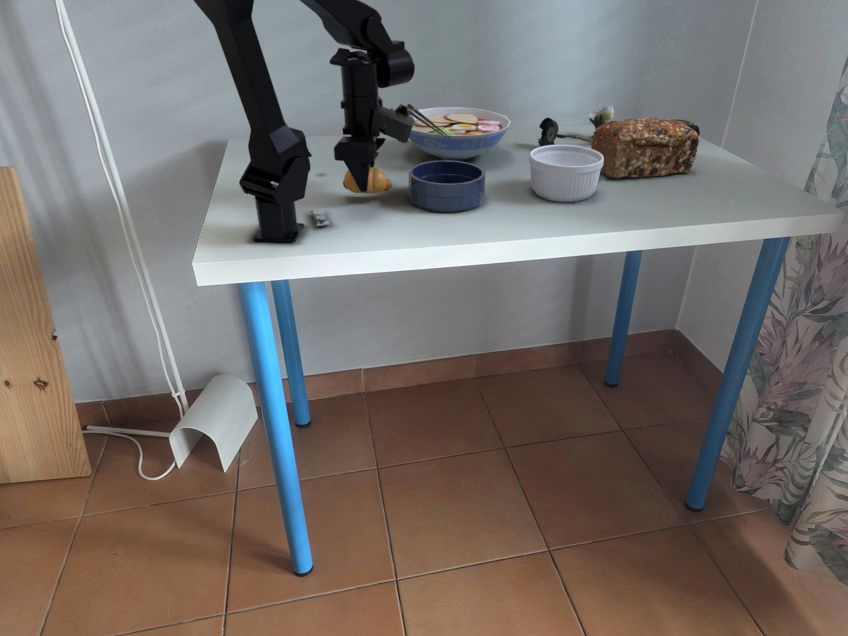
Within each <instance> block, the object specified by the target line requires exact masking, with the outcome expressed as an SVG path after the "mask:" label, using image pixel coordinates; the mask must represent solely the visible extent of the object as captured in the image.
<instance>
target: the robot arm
mask: <svg viewBox="0 0 848 636" xmlns="http://www.w3.org/2000/svg"><path fill="white" fill-rule="evenodd" d="M299 1H300V2H301V3H302V4H303V5H305V7H307V8H309V10H311V11H312V12H313V13H315V15H316V16H318V17H319V19H320V20H321V22H322V26H323V29H324V30H325V31H326V32H327V33H328V35H330V37H331V38H332V39H333V40H334V42H336V43H337V44H339V45H342V46H347V47H349V48H351V49H353V51H351V50H350V49H348V48H344V47H338V48H337V51H336V53H335V54H334V55H332V56H331V58H330V59H329V64H330V65H331V66H337V67H340V75H341V89H342V90H341V91H342V100H341V101H340V109H341V110H342V109H343V118H344V126H343V127H342V135H343V136H342V137H341V138H340V139H339V140H338V141H337V142H336V144H335V145H334V147H333V158H334V160H335V161H337V162H343V163H344V164H345V166H346V168H347V170H349V171H350V173H351V175H352V177H353V178H354V180H355V182H356V184H357V186H358V188H359V190H360V191H361V192H366V191H367V188H368V180H369V171H370V167H373V168H375V163H376V160H377V158H378V156H379V154H380V153H379V151H378V150H379V149H380V148H381V147H382V146H383V145H384V144H385V142H386V138H385V137H380V136H381V134H382V135H383V136H387V137H390V138H392V139H395V140H396V141H398V142H399V143H402V144H407V143H408V141H409V140H410V139H409V136H410V133H411V130H412V127H413V124H414V121H415V120H414V119H413V117H410V113H409V110H410V109H409V107H407V105H405V104H402V103H401V104H399V105H398V106H397V107H396V108H395V109H393V108H391V107H390V108H387V107H384V101H383V98H382V97H381V96H379V89H387V88H390V87H396V86H399V85H403V84H407V83H409V82H410V81H411V80H412V79H413V78H414V75H415V72H416V71H415V70H416V67H415V66H416V65H415V63H414V59H413V57H412V55H411V54H410V52H409V51H408V50H407V49H406V42H405V41H403V40H398V39H391V37H390V35H389V34H388V31H387V30H386V27H385V26H384V24H383V23H382V20H383V18H382V15H381V14H380V12H379V11H378V10H377V9H376V8H374V7H372V6H371V5H368V4H367V3H365V2H364V1H362V0H299ZM193 2H194V3H195V4H196V6H197V7H198V8H199V9H200V10H201V12H202V13H203V14H204V15H205V16H206V18H207V19H208V20H209V21H210V22H211V25H213V28H214V30H215V33H216V36H217V39H218V41H219V44H220V47H221V49H222V53H223V55H224V58H225V61H226V63H227V66H228V69H229V71H230V75H231V77H232V80H233V83H234V86H235V88H236V89H235V90H236V92H237V94H238V96H239V99H240V103H241V105H242V107H243V111H244V113H245V116H246V119H247V122H248V124H249V128H250V133H249V138H248V143H247V149H248V155H249V158H250V161H249V163H248V165H247V167H246V168H245V170H244V172H243V174H242V175H241V177H240V179H239V181H238V184H239V186H240V188H241V190H242V192H243V193H244V194H246V195H250V196H254V202H255V208H256V215H257V222H258V227H259V228H258V229H257V231H256V232H255V233H254V234H253V236H252V241H254V242H276V243H295V242H296V241H297V239H299V237H300V234H301V233H302V232H303V230H304V228H305V224H304V223H303V222H298V221H297V211H296V204H295V202H298V201H300V200H302V199H303V200H304V198H305V197H306V190H307V185H308V179H309V173H310V171H311V160H310V158H312V157H313V154H312V153H311V152H310V151H309V148H308V144H307V139H306V135H305V133H304V130H301V129H297V128H293V127H290V126H289V125H288V124H287V123H286V120H285V118H284V115H283V112H282V108H281V106H280V102H279V100H278V96H277V93H276V91H275V87H274V83H273V81H272V77H271V74H270V72H269V71H270V70H269V69H268V64H267V62H266V58H265V56H264V53H263V49H262V47H261V43H260V40H259V37H258V34H257V31H256V27H255V25H254V24H255V23H254V22H253V21H254V20H253V16H252V15H253V9H254V3H255V0H193ZM354 50H355V51H354Z"/></svg>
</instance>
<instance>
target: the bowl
mask: <svg viewBox="0 0 848 636" xmlns="http://www.w3.org/2000/svg"><path fill="white" fill-rule="evenodd" d="M485 185H486V171H485V170H484V169H483V168H482V167H481V166H479V165H477V164H474V163H470V162H466V161H449V160H444V159H441V160H431V161H425V162H420V163H418V164H414V165H413V166H412V167H410V168H409V170H408V198H409V200H410V201H411V202H412V203H414V205H415V206H416V207H419V208H421V209H423V210H426V211H431V212H438V213H459V212H465V211H470V210H473V209H474V208H477V207H479V205H481V204H482V203H483V202H484V201H485Z"/></svg>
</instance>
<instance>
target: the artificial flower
mask: <svg viewBox="0 0 848 636" xmlns="http://www.w3.org/2000/svg"><path fill="white" fill-rule="evenodd" d="M587 115H588V117H589V122H590V123H592V125H593V126H594V129H595V130H596V129H597V128H598V127H600V126H601V125H603V124H605V123H607V122H610V121H612V119H613V118H614V115H615V109H614V106H613V104H609V105H608V106H604V107H602V108H601V109H599V110H598V111H593V112H591V113H587ZM538 127H539V128H540V129H541V133H540V135H541V136H540V138H537V141H538V142H537V144H538V146H539V147H542V146H548V145H556V144H555V140H556V139H557V138H558V139H566V138H571V139H577V140H581V141H583V142H586V143H591V144H592V140H591V139H587V138H584V137H581V136H578V135H570V134H568V135H567V134H561V133H559V124H558V123H557V121H556V120H554V119H553V118H551V117H545V118H544V119H543V120H542V121H541V122H540V124H539V125H538Z"/></svg>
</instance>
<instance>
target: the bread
mask: <svg viewBox="0 0 848 636" xmlns="http://www.w3.org/2000/svg"><path fill="white" fill-rule="evenodd" d="M591 141H592V143H591V148H590V149H593V150H595V151H597V152H599V153H601V154H602V155H603V157H604V162H603V166H602V168H601V171H600V173H602V174H603V175H605V176H606V177H608V178H609V179H616V180H617V179H618V180H620V179H621V178H623V177H627V178H634V179H635V178H649V177H663V176H667V175H672V174H678V173H679V174H682V173H683V174H686V173H689V172H690V171H691V170H692V168H693V164H694V163H695V161H696V157H697V152H698V147H699V141H700V140H699V136H698V134H697V132H696V131H694V129H692V128H690V127H689V126H687V125H686V124H684V123H683V122H681V121H677V120H673V119H668V118H667V119H666V118H658V117H641V118H639V117H638V118H634V119H631V118H630V119H629V118H628V119H625V120H615V119H614V120H610V121H609V122H606V123H605V124H603V125H601V126H600V127H598V128H597V129H595V130H594V131H593V138H592V140H591Z"/></svg>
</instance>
